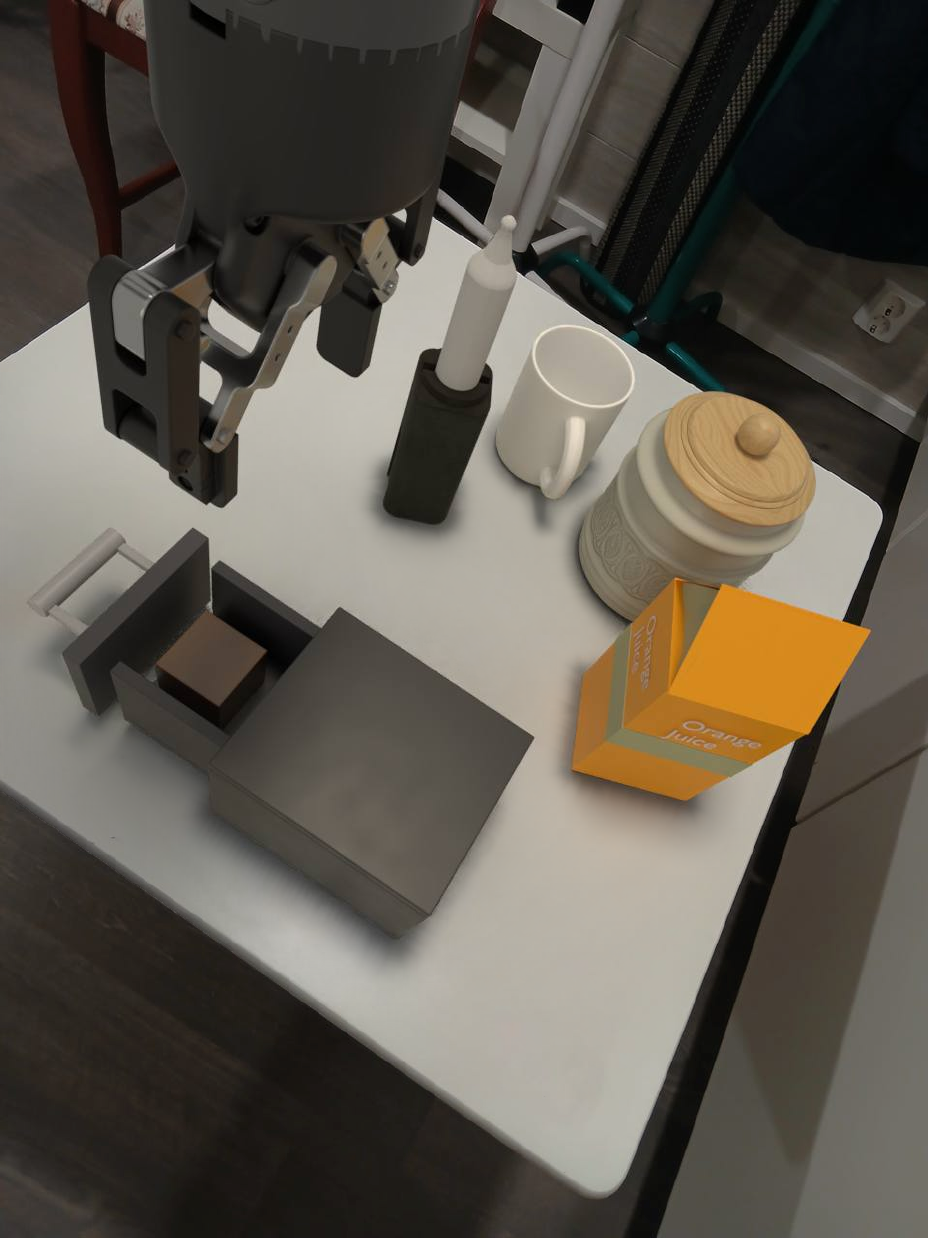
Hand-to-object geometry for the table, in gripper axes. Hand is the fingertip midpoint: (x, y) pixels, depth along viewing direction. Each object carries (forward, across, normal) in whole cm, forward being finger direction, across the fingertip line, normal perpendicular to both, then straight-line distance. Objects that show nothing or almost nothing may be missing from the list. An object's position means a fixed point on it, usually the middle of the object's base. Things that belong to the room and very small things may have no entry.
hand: (278, 422), depth 32 cm
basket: (+25, +3, -3) cm, 26 cm away
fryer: (+26, +2, +10) cm, 28 cm away
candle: (+26, -20, 0) cm, 33 cm away
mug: (+26, -30, +6) cm, 40 cm away
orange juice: (+26, -13, +24) cm, 38 cm away
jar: (+26, -27, +18) cm, 42 cm away
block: (+24, +2, -2) cm, 24 cm away
